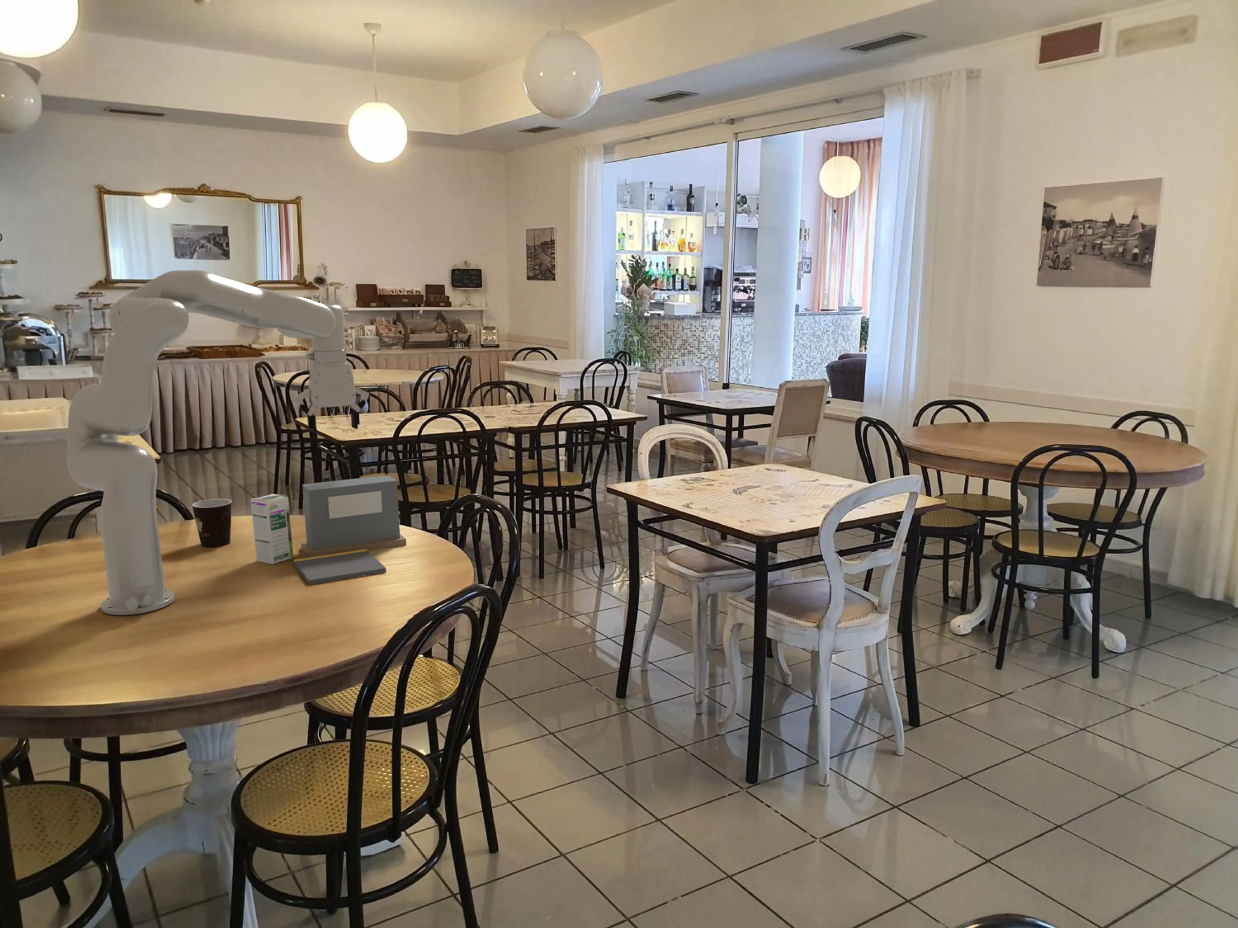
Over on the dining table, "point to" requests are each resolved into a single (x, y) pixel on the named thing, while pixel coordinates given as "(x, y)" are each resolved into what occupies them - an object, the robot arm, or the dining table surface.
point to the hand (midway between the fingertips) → (334, 429)
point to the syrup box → (272, 528)
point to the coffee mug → (213, 522)
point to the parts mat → (338, 566)
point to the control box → (351, 516)
